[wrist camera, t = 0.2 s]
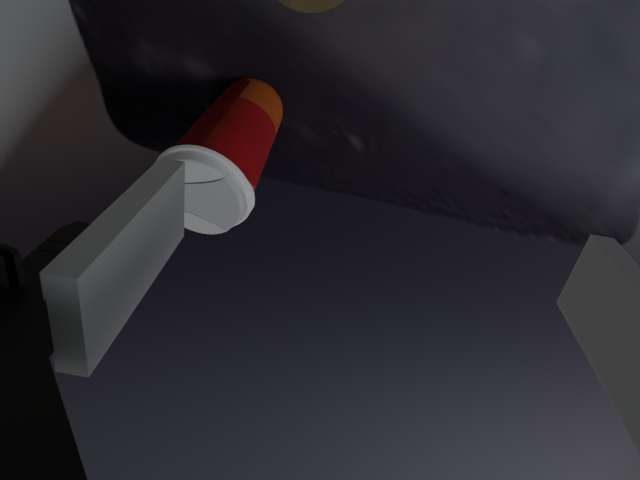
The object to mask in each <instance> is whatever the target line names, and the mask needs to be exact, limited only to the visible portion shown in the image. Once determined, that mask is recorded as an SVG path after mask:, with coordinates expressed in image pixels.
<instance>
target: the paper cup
mask: <svg viewBox="0 0 640 480" xmlns="http://www.w3.org/2000/svg"><path fill="white" fill-rule="evenodd" d="M282 114H283V106H282V102H281V99H280V97H279V95H278V94H277V92H276V91H275V90H274V89H273V88H272V87H271V86H270V85H268V84H267V83H265V82H264V81H262V80H259V79H256V78H242V79H239V80H237V81H235V82H233V83H232V84H231V85H230V86H229V87H228V88H227V89H226V90H225V91H224V92H223V93H222V94H221V95H220V96H219V97H218V98H217V99H216V100H215V102H214V103H213V104H212V105H211V106H210V107H209V108H208V109H207V110H206V111H205V112H204V114H203V115H202V116H201V117H200V118H199V119H198V120H197V121H196V122H195V124H194V125H193V126H192V127H191V128H190V129H189V130H188V131H187V132H186V134H185V135H184V136H183V137H182V138H181V139H180V140H179V141H178V142H177V144H176V145H175V146H174V147H171V148H169V149H167V150H165V151H164V152H163V153H162V154H161V155H160V156H159V157H158V159H157V160H156V162H157V161H158V160H159V159H160V158H166V159H172V160H178V161H183V162H185V194H184V227H185V228H187V229H189V230H192V231H195V232H199V233H204V234H220V233H223V232H226V231H228V230H229V229H230V228H231V227H233V226H235V225H238V224H239V223H241V222H242V221H244V220H245V219H246V218H247V217H248V215H249V213H250V212H251V210H252V209H253V207H254V205H255V196H254V190H255V188H256V185H257V182H258V180H259V178H260V175H261V172H262V170H263V167H264V165H265V162H266V160H267V157H268V154H269V152H270V149H271V147H272V144H273V141H274V139H275V136H276V134H277V131H278V128H279V125H280V122H281V119H282ZM156 162H155V163H156Z"/></svg>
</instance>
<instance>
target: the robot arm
mask: <svg viewBox="0 0 640 480" xmlns="http://www.w3.org/2000/svg"><path fill="white" fill-rule="evenodd" d="M184 194H185V162H183V161H178V160H172V159H166V158H160V159H159V160H158V161H157V162H156V163H155V164H154V165H153V166H152V167H151V168H150V169H149V170H148V171H147V172H145V173H144V174H143V175H142V176H141V177H140V178H139V179H138V180H137V181H136V182H135V183H134V184H133V185H132V186H131V187H130V188H129V189H128V190H126V191H125V192H124V193H123V194H122V195H121V196H120V197H119V198H118V199H117V200H116V201H115V202H114V203H113V204H112V205H111V206H110V207H108V208H107V209H106V210H105V211H104V212H103V213H102V214H101V215H100V216H99V217H98V218H97V219H96V220H95V221H94V222H93V223H86V222H81V221H75V222H73V223H71V224H69V225H66V226H63V227H61V228H59V229H58V230H57V231H55V232H54V233H53V234H52V235H51V236H49V238H47V240H46V241H44V242H43V243H41V244H40V245H39V246H38V247H37V249H36V250H33V251H32V252H31V253H30V254H29V255H28V256H26V257H25V258H24V259H23V260H21V255H20V253H19V252H18V251H17V249H16V248H13V247H11V246H8V245H5V244H0V480H87V477H86V474H85V472H84V468H83V465H82V462H81V459H80V455H79V452H78V449H77V446H76V443H75V439H74V436H73V433H72V430H71V427H70V424H69V420H68V417H67V414H66V411H65V408H64V404H63V401H62V398H61V395H60V392H59V389H58V386H57V382H56V379H55V376H54V373H53V369H52V366H51V363H50V360H49V357H50V356H51V354H52V353H53V359H54V364H55V370H56V372H61V373H67V374H73V375H78V376H84V377H89V376H90V375H91V373H92V372H93V370H94V369H95V367H96V366H97V364H98V363H99V361H100V360H101V358H102V357H103V355H104V354H105V352H106V351H107V349H108V348H109V346H110V345H111V343H112V342H113V341H114V339H115V338H116V336H117V335H118V333H119V332H120V330H121V328H122V327H123V326H124V324H125V323H126V321H127V320H128V318H129V316H130V315H131V314H132V312H133V311H134V309H135V308H136V306H137V305H138V303H139V302H140V300H141V299H142V297H143V296H144V294H145V293H146V291H147V290H148V288H149V287H150V286H151V284H152V283H153V281H154V279H155V278H156V277H157V275H158V273H159V272H160V271H161V269H162V268H163V266H164V264H165V263H166V262H167V260H168V259H169V257H170V256H171V254H172V253H173V251H174V250H175V248H176V247H177V245H178V244H179V242H180V241H181V239H182V238H183V237H184ZM556 303H557V305H558V306H559V308H560V310H561V312H562V313H563V315H564V317H565V319H566V321H567V323H568V325H569V326H570V328H571V330H572V332H573V334H574V335H575V337H576V339H577V341H578V343H579V345H580V346H581V348H582V350H583V352H584V354H585V355H586V357H587V359H588V361H589V363H590V364H591V366H592V368H593V370H594V372H595V374H596V375H597V377H598V379H599V381H600V383H601V384H602V386H603V388H604V390H605V392H606V393H607V395H608V397H609V399H610V401H611V402H612V404H613V406H614V408H615V410H616V412H617V413H618V415H619V417H620V419H621V421H622V422H623V424H624V426H625V428H626V430H627V432H628V433H629V435H630V437H631V439H632V441H633V442H634V444H635V446H636V448H637V450H638V451H639V453H640V267H639V266H638V265H637V264H636V263H635V261H634V260H633V259H632V258H631V257H630V256H629V255H628V254H627V253H626V251H625V250H624V249H623V248H622V247H621V246H620V245H619V243H618V242H617V241H616V240H615V239H613V238H608V237H602V236H597V235H590V237H589V239H588V241H587V243H586V245H585V247H584V249H583V251H582V253H581V255H580V257H579V259H578V261H577V262H576V264H575V266H574V269H573V271H572V272H571V274H570V276H569V278H568V281H567V282H566V284H565V287H564V288H563V290H562V292H561V294H560V296H559V298H558V300H557V302H556Z"/></svg>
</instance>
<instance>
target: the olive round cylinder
mask: <svg viewBox="0 0 640 480" xmlns="http://www.w3.org/2000/svg"><path fill="white" fill-rule="evenodd" d="M278 1H279V2H280V3H282V4H283V5H285V6H287V7H289V8H291V9H294V10H297V11H301V12H307V13H317V12H323V11H326V10H329V9H332V8H334V7H336V6H337V5H339V4H340V3H342V2H343V1H344V0H278Z"/></svg>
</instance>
